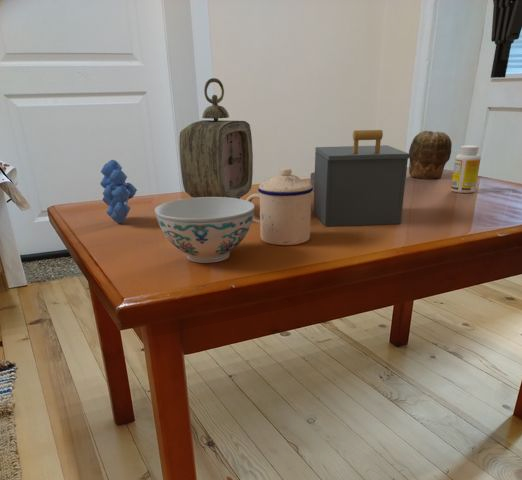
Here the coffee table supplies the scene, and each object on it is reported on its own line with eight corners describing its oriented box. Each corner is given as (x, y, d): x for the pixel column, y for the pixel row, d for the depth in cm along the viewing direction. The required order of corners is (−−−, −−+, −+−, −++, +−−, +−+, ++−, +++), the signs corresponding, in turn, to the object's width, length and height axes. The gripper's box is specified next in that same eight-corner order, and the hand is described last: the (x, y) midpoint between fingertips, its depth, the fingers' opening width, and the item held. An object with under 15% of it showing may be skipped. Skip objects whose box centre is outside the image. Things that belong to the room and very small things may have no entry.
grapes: (150, 226, 98) (143, 160, 92) (116, 231, 95) (105, 163, 89) (132, 214, 107) (124, 154, 101) (99, 219, 104) (89, 156, 98)
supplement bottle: (478, 190, 123) (486, 145, 118) (469, 194, 120) (477, 148, 115) (456, 188, 126) (462, 144, 122) (446, 191, 123) (453, 146, 118)
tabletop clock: (221, 223, 98) (214, 77, 87) (182, 219, 102) (169, 78, 90) (253, 208, 110) (250, 77, 98) (217, 205, 113) (210, 78, 102)
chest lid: (409, 158, 90) (412, 130, 88) (328, 160, 89) (329, 132, 87) (387, 149, 102) (389, 124, 100) (315, 151, 101) (316, 126, 99)
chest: (400, 223, 96) (408, 158, 91) (324, 226, 95) (327, 160, 90) (381, 209, 108) (387, 149, 102) (313, 211, 107) (315, 151, 101)
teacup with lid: (318, 235, 90) (321, 166, 85) (299, 248, 83) (300, 174, 78) (258, 228, 95) (257, 162, 89) (235, 241, 88) (232, 170, 82)
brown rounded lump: (413, 181, 136) (418, 132, 131) (401, 174, 146) (406, 129, 141) (453, 180, 137) (460, 131, 131) (439, 173, 146) (445, 128, 141)
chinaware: (231, 238, 89) (229, 193, 86) (272, 261, 77) (272, 210, 74) (148, 251, 83) (142, 203, 79) (180, 278, 71) (174, 223, 68)
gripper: (488, -46, 110) (468, 78, 121) (520, -60, 99) (496, 77, 110) (521, -45, 111) (499, 77, 122) (557, -60, 99) (529, 77, 110)
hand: (497, 77), depth 116 cm, fingers closed
